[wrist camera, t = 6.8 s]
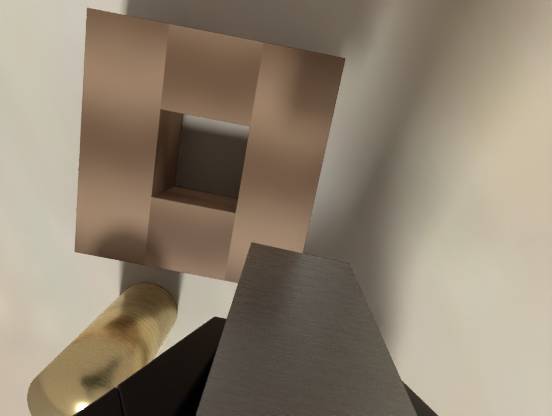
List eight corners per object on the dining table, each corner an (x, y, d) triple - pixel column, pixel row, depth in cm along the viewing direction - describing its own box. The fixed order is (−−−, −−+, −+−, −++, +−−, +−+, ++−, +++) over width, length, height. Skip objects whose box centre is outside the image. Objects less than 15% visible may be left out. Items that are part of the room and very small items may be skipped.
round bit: (173, 341, 23) (113, 450, 15) (116, 330, 23) (26, 433, 15) (180, 289, 22) (120, 375, 14) (121, 277, 22) (27, 358, 14)
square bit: (324, 347, 11) (403, 834, 4) (233, 328, 11) (110, 779, 3) (349, 263, 11) (521, 648, 3) (251, 241, 10) (145, 572, 3)
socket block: (292, 267, 21) (293, 293, 18) (109, 232, 21) (74, 251, 18) (334, 72, 18) (345, 58, 15) (124, 31, 18) (87, 7, 15)
